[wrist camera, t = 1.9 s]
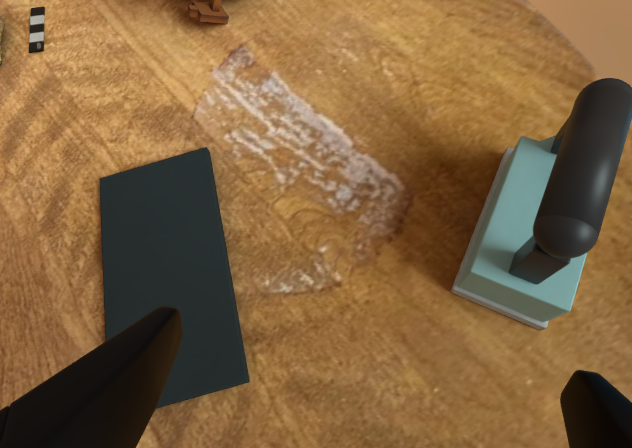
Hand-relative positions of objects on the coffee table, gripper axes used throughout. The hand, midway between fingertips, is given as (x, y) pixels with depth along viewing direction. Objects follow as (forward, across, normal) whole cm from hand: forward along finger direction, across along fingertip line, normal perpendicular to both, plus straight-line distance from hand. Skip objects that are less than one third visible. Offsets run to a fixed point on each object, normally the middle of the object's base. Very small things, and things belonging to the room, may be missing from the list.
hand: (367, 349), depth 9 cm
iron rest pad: (+13, +12, +10) cm, 20 cm away
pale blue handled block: (+15, -9, +5) cm, 19 cm away
